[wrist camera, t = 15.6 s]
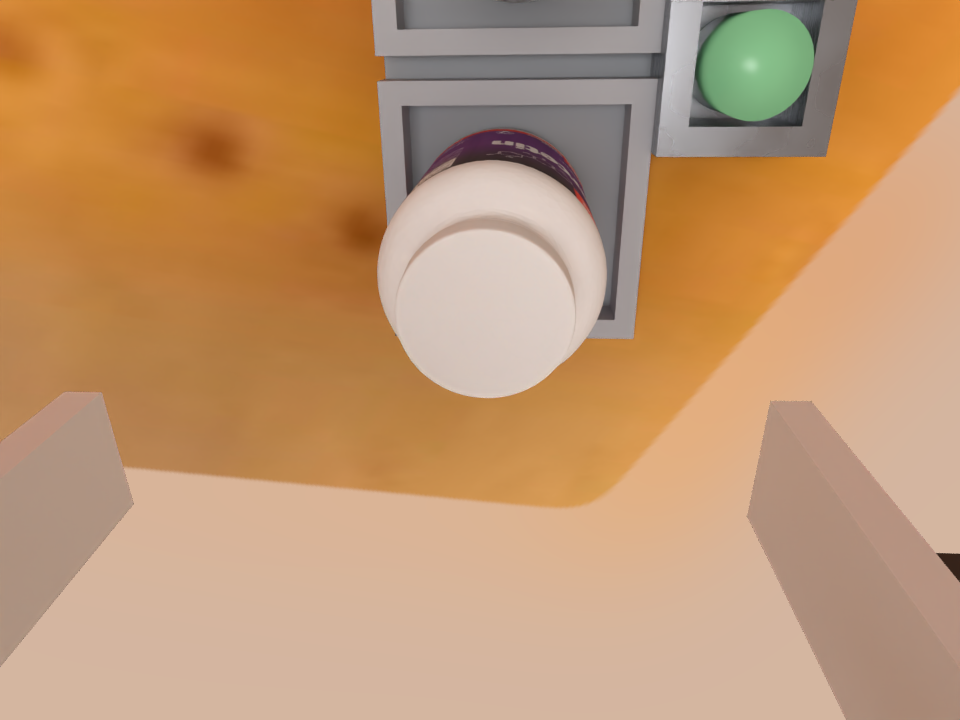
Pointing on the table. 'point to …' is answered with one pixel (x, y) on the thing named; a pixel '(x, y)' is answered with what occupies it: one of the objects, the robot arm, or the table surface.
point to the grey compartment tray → (530, 104)
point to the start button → (752, 63)
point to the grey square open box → (707, 133)
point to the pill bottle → (493, 265)
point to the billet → (515, 1)
